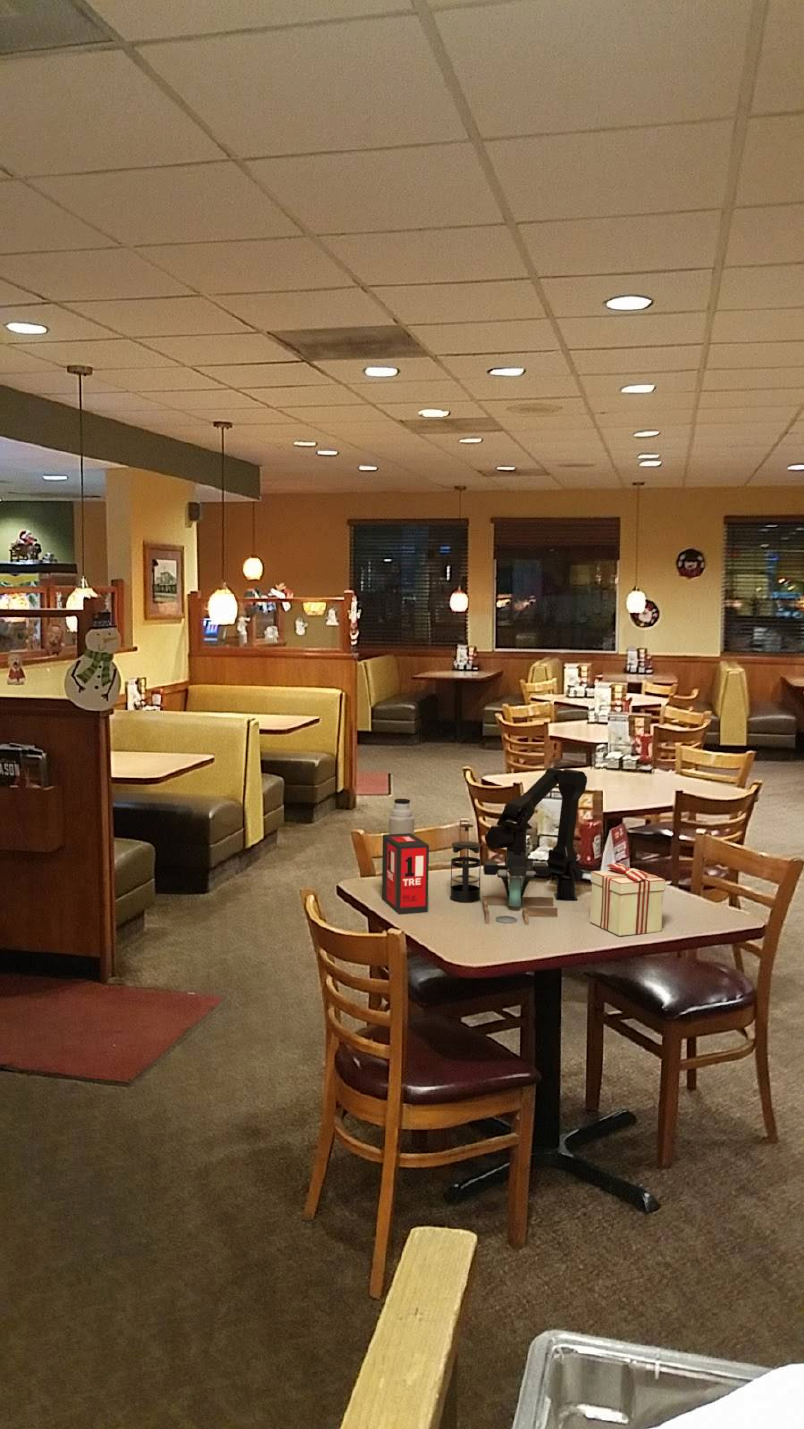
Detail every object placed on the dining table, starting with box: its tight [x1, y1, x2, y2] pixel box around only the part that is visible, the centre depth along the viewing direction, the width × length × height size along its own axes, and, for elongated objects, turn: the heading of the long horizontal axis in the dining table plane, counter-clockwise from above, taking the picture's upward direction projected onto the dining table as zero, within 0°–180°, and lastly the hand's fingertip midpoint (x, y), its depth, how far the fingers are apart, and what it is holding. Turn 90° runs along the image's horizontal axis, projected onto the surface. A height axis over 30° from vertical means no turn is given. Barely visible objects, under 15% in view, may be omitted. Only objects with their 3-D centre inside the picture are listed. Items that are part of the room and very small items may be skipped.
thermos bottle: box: [388, 798, 415, 836], centre depth 347 cm, size 8×8×28 cm
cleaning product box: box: [381, 833, 430, 915], centre depth 326 cm, size 16×9×20 cm, turn 18°
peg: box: [508, 876, 522, 907], centre depth 323 cm, size 4×4×8 cm
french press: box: [449, 823, 482, 904], centre depth 335 cm, size 12×9×23 cm
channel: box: [481, 895, 558, 926], centre depth 320 cm, size 20×21×2 cm
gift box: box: [589, 862, 666, 937], centre depth 309 cm, size 17×18×17 cm
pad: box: [495, 915, 518, 924], centre depth 314 cm, size 6×6×1 cm
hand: (514, 897), depth 323 cm, fingers closed on peg, 3 cm apart
